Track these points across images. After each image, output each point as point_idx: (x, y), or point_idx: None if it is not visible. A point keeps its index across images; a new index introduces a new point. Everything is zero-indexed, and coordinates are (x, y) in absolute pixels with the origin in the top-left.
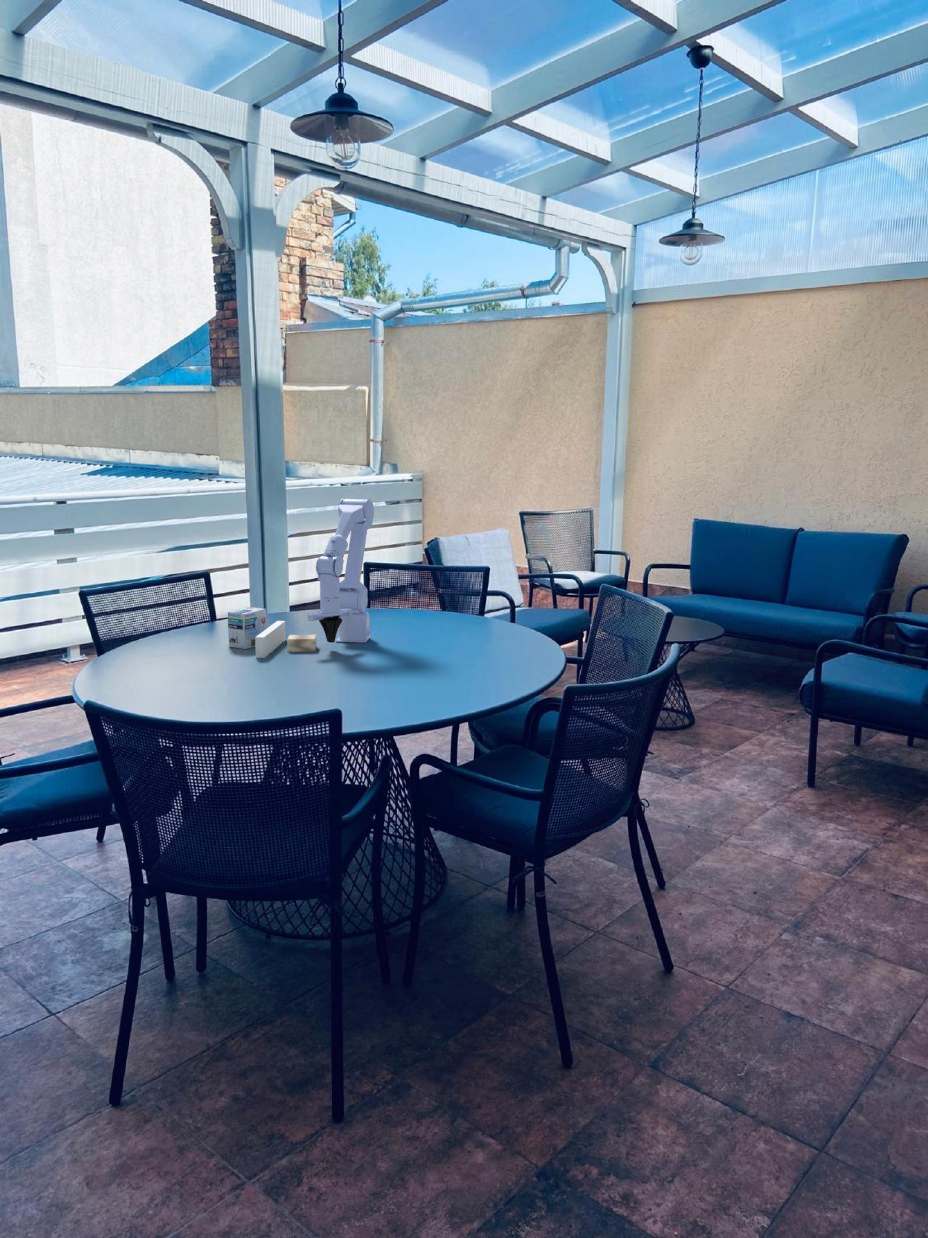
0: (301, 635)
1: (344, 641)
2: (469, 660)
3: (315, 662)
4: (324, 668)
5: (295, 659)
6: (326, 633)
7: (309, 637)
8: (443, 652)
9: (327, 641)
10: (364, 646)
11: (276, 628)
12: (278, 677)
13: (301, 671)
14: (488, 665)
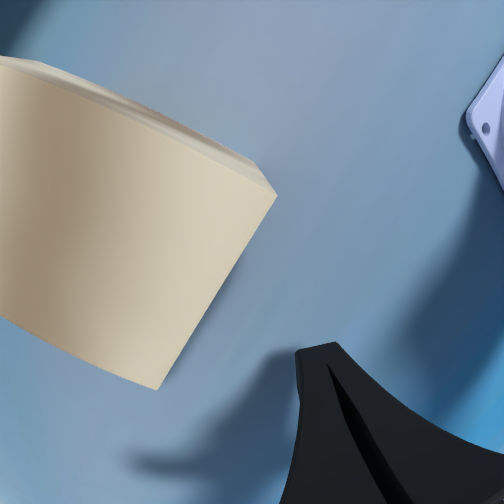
0: (56, 138)
1: (494, 170)
2: None
3: (115, 461)
4: (133, 497)
5: (32, 397)
6: (309, 416)
7: (120, 309)
8: (495, 430)
9: (295, 358)
10: (481, 315)
11: None
12: (13, 476)
13: (63, 484)
14: None
